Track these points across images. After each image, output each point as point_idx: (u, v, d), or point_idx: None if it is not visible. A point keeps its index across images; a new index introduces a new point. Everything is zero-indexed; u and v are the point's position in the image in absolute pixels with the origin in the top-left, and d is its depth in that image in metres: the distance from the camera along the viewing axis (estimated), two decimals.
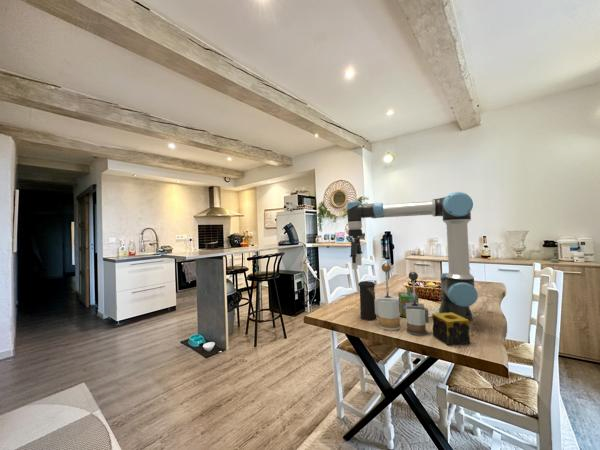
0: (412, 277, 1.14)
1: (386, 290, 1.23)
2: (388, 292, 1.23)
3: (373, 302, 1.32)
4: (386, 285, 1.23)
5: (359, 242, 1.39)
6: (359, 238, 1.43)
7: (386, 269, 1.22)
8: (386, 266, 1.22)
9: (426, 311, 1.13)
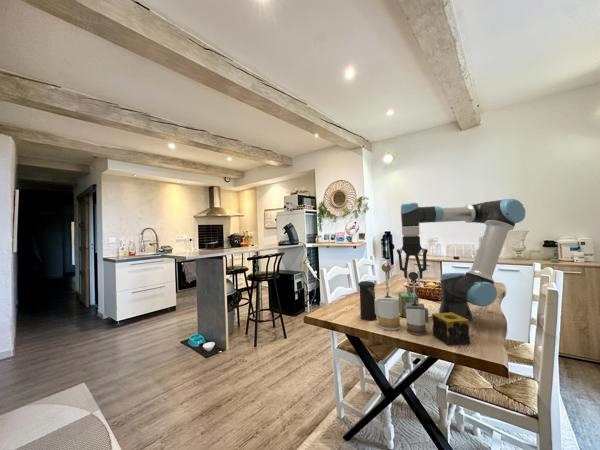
0: (412, 277, 1.14)
1: (386, 290, 1.23)
2: (388, 292, 1.23)
3: (373, 302, 1.32)
4: (386, 285, 1.23)
5: (415, 252, 1.14)
6: (425, 250, 1.13)
7: (386, 269, 1.22)
8: (386, 266, 1.22)
9: (426, 311, 1.13)
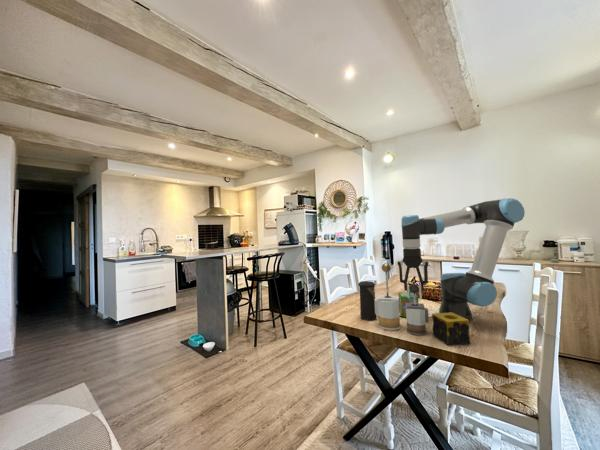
0: (413, 290, 1.14)
1: (386, 290, 1.23)
2: (388, 292, 1.23)
3: (373, 302, 1.32)
4: (386, 285, 1.23)
5: (416, 265, 1.14)
6: (426, 263, 1.13)
7: (386, 269, 1.22)
8: (386, 266, 1.22)
9: (426, 311, 1.13)
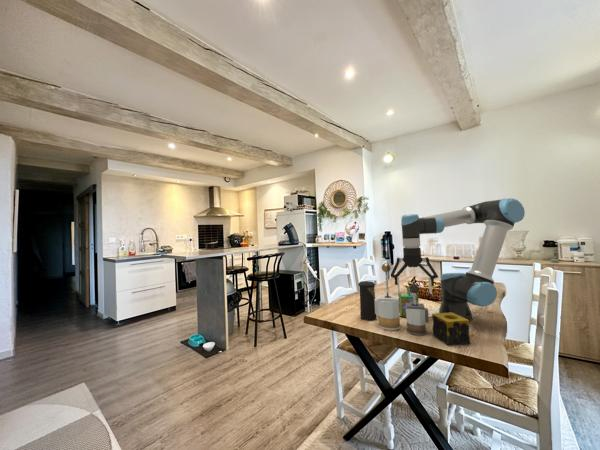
0: (413, 290, 1.14)
1: (386, 290, 1.23)
2: (388, 292, 1.23)
3: (373, 302, 1.32)
4: (386, 285, 1.23)
5: (417, 264, 1.13)
6: (426, 259, 1.13)
7: (386, 269, 1.22)
8: (386, 266, 1.22)
9: (426, 311, 1.13)
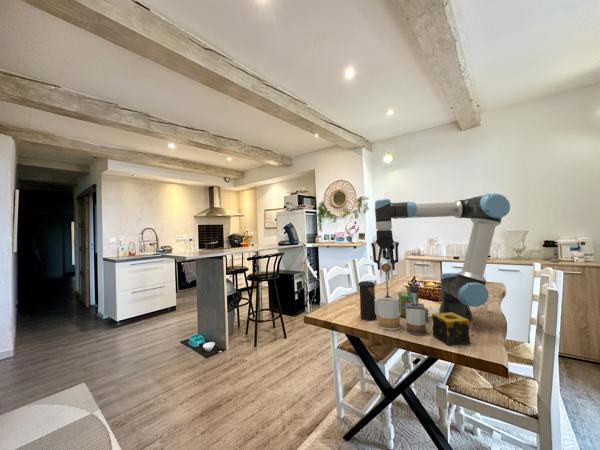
0: (413, 290, 1.14)
1: (386, 290, 1.23)
2: (388, 292, 1.23)
3: (373, 302, 1.32)
4: (386, 285, 1.23)
5: (387, 245, 1.22)
6: (396, 243, 1.21)
7: (386, 269, 1.22)
8: (386, 266, 1.22)
9: (426, 311, 1.13)
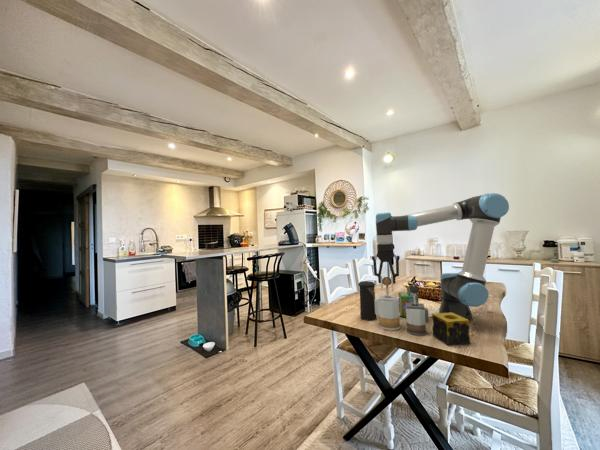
0: (413, 290, 1.14)
1: None
2: None
3: (373, 302, 1.32)
4: None
5: (388, 259, 1.22)
6: (397, 257, 1.21)
7: (387, 283, 1.22)
8: (387, 280, 1.22)
9: (426, 311, 1.13)
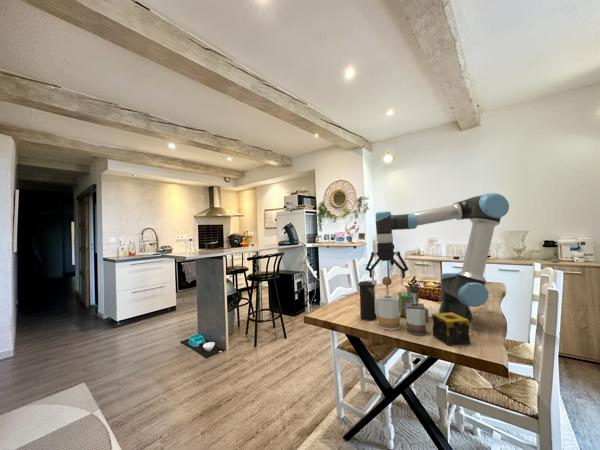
0: (413, 290, 1.14)
1: None
2: None
3: (373, 302, 1.32)
4: None
5: (390, 257, 1.22)
6: (398, 253, 1.21)
7: (387, 283, 1.22)
8: (387, 280, 1.22)
9: (426, 311, 1.13)
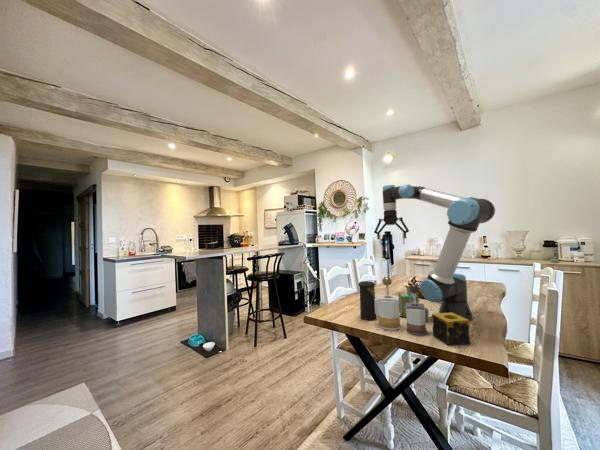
0: (413, 290, 1.14)
1: None
2: None
3: (373, 302, 1.32)
4: None
5: (394, 222, 1.51)
6: (400, 218, 1.50)
7: (387, 283, 1.22)
8: (387, 280, 1.22)
9: (426, 311, 1.13)
